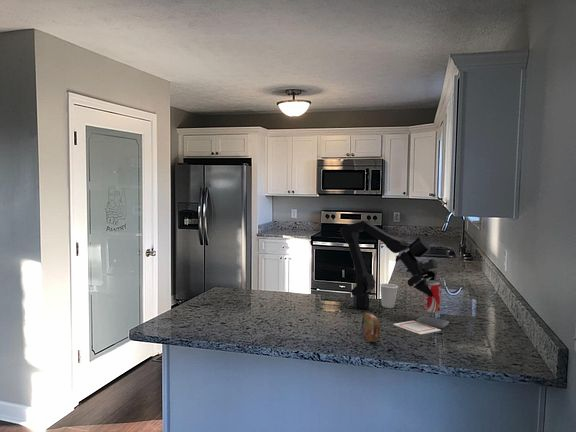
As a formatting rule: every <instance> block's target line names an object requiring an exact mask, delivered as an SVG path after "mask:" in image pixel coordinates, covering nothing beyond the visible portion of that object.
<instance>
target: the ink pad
mask: <svg viewBox="0 0 576 432" xmlns="http://www.w3.org/2000/svg"><path fill="white" fill-rule="evenodd" d="M415 321H416V322H419V323H422V324H425V325H428V326H431V327H434V328H438V329H439V328H440V329H444V328H446V327H447V326H448V325H449V324H450V321H448V320H444V319H439V318H434V317H430V316H425V315H422V316H420V317H418V318H416V319H415Z"/></svg>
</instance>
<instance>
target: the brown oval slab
mask: <svg viewBox="0 0 576 432" xmlns="http://www.w3.org/2000/svg"><path fill="white" fill-rule="evenodd" d="M380 322H381V321H379V319H378V317H376V316H375V315H374V314H373V313H371V312H370V313H368V312H364V314H363V315H362V321H361V333H362V335H363V337H364V338H365V339H366V340H367V342H369V343H377V342H378V341H379V338H380V330H381V323H380Z"/></svg>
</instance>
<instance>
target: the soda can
mask: <svg viewBox="0 0 576 432" xmlns="http://www.w3.org/2000/svg"><path fill="white" fill-rule="evenodd" d="M426 284H427V285H428V287H429V289H430V290H431V292H432V294H433V296H432V297H430V296H428V295H427V294H425V293H423V292H422V308H423V310H424V311H425V312H427V313H432V314H433V313H439V312H440V311H441V306H442V286H441V282H440V281H437V280H435V281H434V280H428V281H426Z"/></svg>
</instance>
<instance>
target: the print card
mask: <svg viewBox="0 0 576 432" xmlns="http://www.w3.org/2000/svg"><path fill="white" fill-rule="evenodd" d="M392 325H393V326H395V327H398V328H401V329H404V330H407V331H410V332H413V333H415V334H418V335H427V334H431V333H436V332H437V333H438V332H441V331H442V329H441V328H440V329H439V328H438V327H434V326H430V325H425V324H422V323H419V322H416V320H409V321H408V320H407V321H403V322H396V323H392Z"/></svg>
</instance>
